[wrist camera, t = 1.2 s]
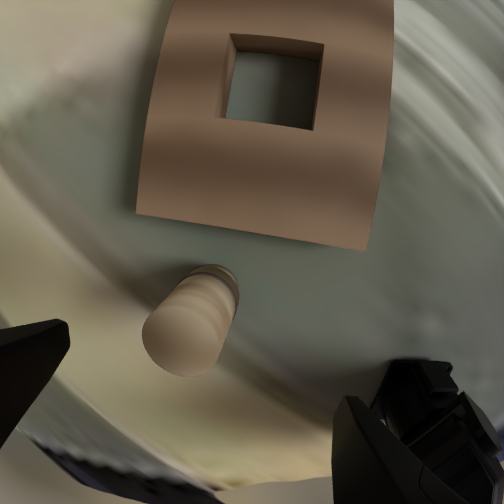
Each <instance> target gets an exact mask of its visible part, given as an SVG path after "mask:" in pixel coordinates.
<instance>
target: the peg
mask: <svg viewBox="0 0 504 504" xmlns="http://www.w3.org/2000/svg"><path fill="white" fill-rule="evenodd" d="M238 303H239V291H238V283H237V280H236V278H235V276H234V275H233V274H232V272H231V271H230V270H228V269H227V268H225V267H223V266H221V265H217V264H209V265H205V266H203V267H200V268H197V269H194V270H193V271H191V272H190V273H189V274H188V275H187V276H186V277H184V278H183V279H182V280H181V281H180V282H179V283H178V285H177V286H176V288H175V289H174V290H173V291H172V292H171V293H170V294H169V295H168V296H167V297H166V298H165V300H164V301H163V302H162V303H161V304H160V305H159V306H158V307H157V308H156V309H155V310H154V311H153V312H152V314H151V315H150V316H149V317H148V318H147V319H146V321H145V323H144V325H143V329H142V340H143V344H144V347H145V349H146V351H147V353H148V354H149V356H150V357H151V359H152V360H153V361H154V362H155V363H156V364H157V365H159V366H160V367H161V368H163V369H164V370H166V371H168V372H170V373H172V374H175V375H178V376H183V377H195V376H200V375H203V374H205V373H207V372H208V371H210V370H211V369H212V368H213V367H214V365H215V364H216V362H217V360H218V357H219V354H220V352H221V349H222V346H223V344H224V341H225V338H226V335H227V333H228V330H229V327H230V325H231V322H232V321H233V319H234V316H235V314H236V310H237V306H238Z"/></svg>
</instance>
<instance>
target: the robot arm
mask: <svg viewBox="0 0 504 504" xmlns="http://www.w3.org/2000/svg"><path fill="white" fill-rule="evenodd" d="M69 348H70V336H69V327H68V324H67V323H66V322H65V321H62V320H60V319H52V320H47V321H42V322H37V323H32V324H27V325H21V326H16V327H11V328H5V329H0V449H1V447H2V445H3V444H4V443H5V441H6V440H7V438H8V437H9V435H10V434H11V432H12V431H13V430H14V428H15V427H16V425H17V424H18V422H19V421H20V420H21V418H22V417H23V415H24V414H25V413H26V411H27V410H28V409H29V407H30V406H31V404H32V403H33V402H34V400H35V399H36V398H37V396H38V395H39V394H40V392H41V391H42V390H43V388H44V387H45V386H46V384H47V383H48V382H49V380H50V379H51V377H52V376H53V374H54V372H55V371H56V369H57V367H58V366H59V364H60V363H61V361H62V359H63V358H64V356H65V355H66V353H67V352H68V350H69ZM396 365H398V366H397V367H395V366H396ZM452 369H453V366H452V365H451V363H449V362H440V361H426V360H417V361H408V360H395V361H393V362H392V363H391V364H390V366H389V369H388V371H387V373H386V376H385V378H384V380H383V382H382V384H381V387H380V389H379V391H378V393H377V395H376V397H375V399H374V401H373V403H372V405H371V407H370V409H369V408H368V407H367V406H366V405H365V404H364V403H363V402H362V401H361V400H360V398H358V397H357V396H350V395H345V396H344V397H343V398H342V400H341V402H340V404H339V406H338V408H337V410H336V412H335V414H334V418H333V437H332V457H331V465H332V481H333V499H334V504H502V500H503V494H504V470H503V468H502V466H501V464H500V463H499V461H498V459H497V457H496V456H497V455H498V454H499V453H501V452H502V448H501V445H500V442H499V439H498V436H497V433H496V430H495V428H494V427H493V425H492V424H491V422H490V421H489V419H488V418H487V416H486V415H485V413H484V412H483V411H482V410H481V409H480V408H479V407H478V405H477V404H476V403H475V402H474V401H473V400H472V399H471V398H470V397H469V396H468V395H467V394H466V393H465V392H464V391H463V392H461V393H460V394H459V395H458V394H457V392H458V390H459V389H458V387H457V385H456V384H455V382H454V381H453V379H452V378H451V376H450V373H451V371H452ZM380 419H384V420H385V424H386V425H385V424H384V423H383V422H382V421H381V420H380Z"/></svg>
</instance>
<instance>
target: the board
mask: <svg viewBox="0 0 504 504" xmlns="http://www.w3.org/2000/svg"><path fill="white" fill-rule="evenodd" d="M393 46H394V0H174V2H173V6H172V9H171V12H170V16H169V19H168V23H167V27H166V30H165V34H164V38H163V42H162V46H161V50H160V54H159V59H158V63H157V68H156V72H155V77H154V82H153V87H152V92H151V97H150V103H149V108H148V114H147V120H146V127H145V133H144V140H143V148H142V155H141V164H140V172H139V182H138V192H137V204H136V214H140V215H147V216H154V217H160V218H167V219H173V220H180V221H186V222H193V223H199V224H205V225H212V226H218V227H224V228H230V229H236V230H242V231H248V232H254V233H260V234H266V235H272V236H278V237H284V238H290V239H295V240H301V241H307V242H313V243H318V244H324V245H329V246H335V247H341V248H346V249H352V250H357V251H362V252H366V248H367V243H368V239H369V234H370V230H371V225H372V220H373V215H374V210H375V205H376V200H377V194H378V189H379V183H380V177H381V171H382V164H383V157H384V150H385V143H386V135H387V127H388V118H389V108H390V97H391V85H392V70H393ZM237 51H248V52H259V53H269V54H278V55H286V56H293V57H299V58H306V59H312V60H317V61H320V62H319V70H318V78H317V86H316V94H315V101H314V108H313V115H312V122H311V129H310V130H305V129H299V128H293V127H287V126H281V125H274V124H267V123H259V122H251V121H243V120H233V119H225V117H226V111H227V105H228V99H229V93H230V87H231V82H232V76H233V70H234V65H235V59H236V54H237Z"/></svg>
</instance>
